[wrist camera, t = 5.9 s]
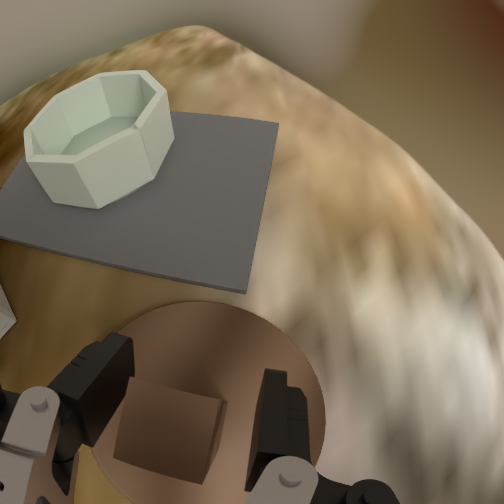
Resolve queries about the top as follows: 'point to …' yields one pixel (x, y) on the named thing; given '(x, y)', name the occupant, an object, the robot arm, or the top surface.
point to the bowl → (100, 138)
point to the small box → (5, 314)
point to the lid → (198, 404)
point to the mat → (163, 208)
